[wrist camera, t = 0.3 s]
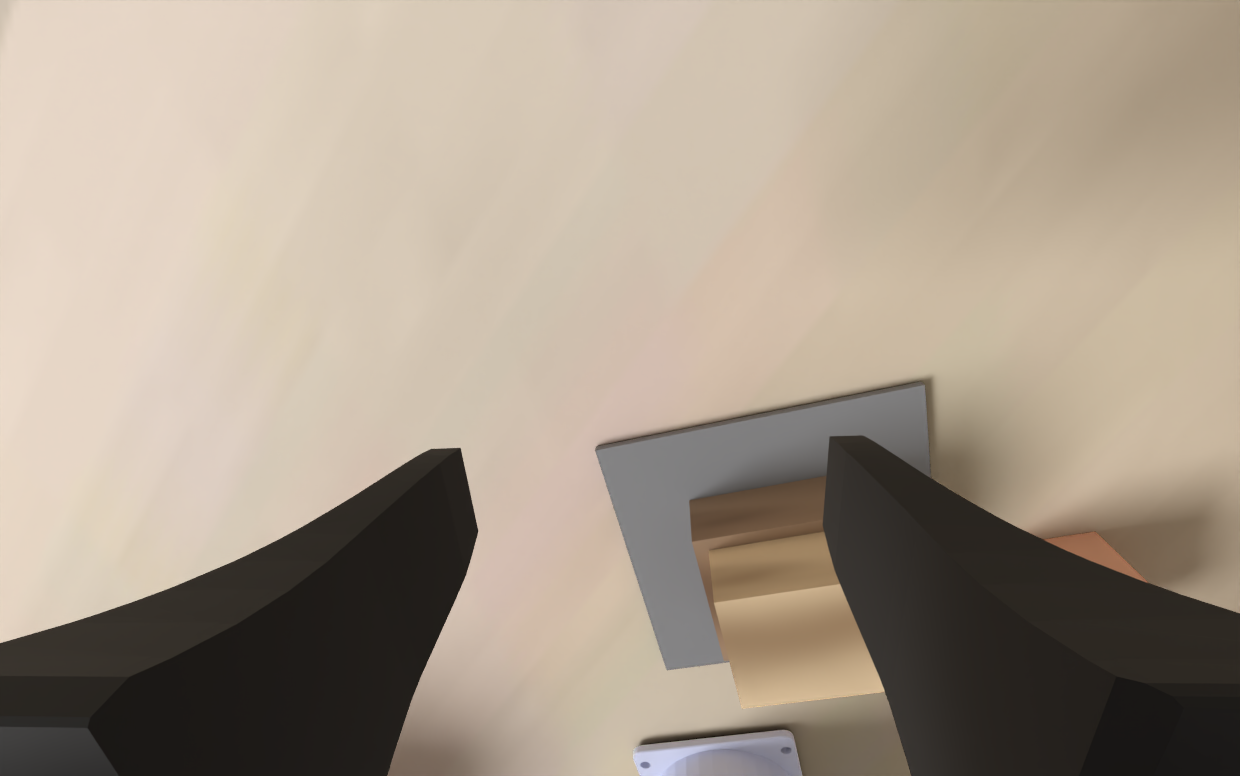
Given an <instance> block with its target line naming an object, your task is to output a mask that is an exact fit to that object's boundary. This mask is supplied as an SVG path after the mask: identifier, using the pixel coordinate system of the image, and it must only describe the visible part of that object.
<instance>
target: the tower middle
mask: <svg viewBox="0 0 1240 776" xmlns="http://www.w3.org/2000/svg"><path fill="white" fill-rule="evenodd" d="M709 560H710V570H711V579H712V589H713V599H714V605H715V609H716V613H717V616H718V620H719V624H720V628H721V632H722V635H723V639H724V643H725V647H726V650H727V654H728V658H729V662H730V666H731V669H732V673H733V677H734V681H735V684H736V688H737V692H738V696H739V700H740V703H741V707H742V709H744V708H753V707H761V706H770V705H778V704H787V703H795V702H804V701H812V700H821V699H830V698H838V697H847V696H855V695H864V694H872V693H881V692H885V691H884V688H883V685H882V683H881V680H880V677H879V675H878V673H877V670H876V668H875V666H874V663H873V661H872V658H871V656H870V654H869V651H868V649H867V647H866V644H865V642H864V640H863V637H862V635H861V633H860V630H859V628H858V626H857V623H856V621H855V619H854V616H853V614H852V611H851V609H850V607H849V604H848V602H847V600H846V597H845V595H844V592H843V590H842V588H841V585H840V583H839V580H838V578H837V575H836V573H835V570H834V567H833V563H832V559H831V556H830V552H829V549H828V545H827V541H826V537H825V533H824V532H819V533H813V534H807V535H800V536H794V537H788V538H782V539H776V540H770V541H764V542H758V543H752V544H745V545H739V546H733V547H727V548H721V549H715V550H709Z"/></svg>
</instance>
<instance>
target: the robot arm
mask: <svg viewBox="0 0 1240 776" xmlns="http://www.w3.org/2000/svg"><path fill="white" fill-rule="evenodd" d="M823 529H824V533H825V537H826V541H827V545H828V549H829V552H830V556H831V559H832V563H833V567H834V570H835V573H836V575H837V578H838V580H839V583H840V585H841V588H842V590H843V592H844V595H845V597H846V600H847V602H848V604H849V607H850V609H851V611H852V614H853V616H854V619H855V621H856V623H857V626H858V628H859V630H860V633H861V635H862V637H863V640H864V642H865V644H866V647H867V649H868V651H869V654H870V656H871V658H872V661H873V663H874V666H875V668H876V670H877V673H878V675H879V677H880V680H881V683H882V685H883V688H884V691H885V693H886V696H887V699H888V701H889V704H890V707H891V710H892V714H893V717H894V720H895V723H896V727H897V730H898V733H899V736H900V739H901V743H902V746H903V749H904V752H905V756H906V759H907V762H908V766H909V769H910V773H911V776H1240V614H1239V613H1236V612H1233V611H1230V610H1227V609H1224V608H1221V607H1218V606H1215V605H1212V604H1208V603H1205V602H1202V601H1199V600H1196V599H1193V598H1190V597H1187V596H1184V595H1181V594H1178V593H1175V592H1172V591H1169V590H1166V589H1164V588H1161V587H1158V586H1155V585H1152V584H1149V583H1147V582H1144V581H1141V580H1138V579H1136V578H1133V577H1131V576H1128V575H1126V574H1123V573H1121V572H1118V571H1115V570H1113V569H1110V568H1108V567H1105V566H1103V565H1100V564H1098V563H1095V562H1092V561H1090V560H1088V559H1085V558H1083V557H1080V556H1078V555H1076V554H1073V553H1071V552H1069V551H1066V550H1064V549H1062V548H1060V547H1058V546H1055V545H1053V544H1051V543H1049V542H1047V541H1045V540H1043V539H1041V538H1038V537H1036V536H1034V535H1032V534H1030V533H1028V532H1026V531H1024V530H1021V529H1019V528H1017V527H1015V526H1014V525H1012V524H1010V523H1008V522H1006V521H1004V520H1002V519H1000V518H998V517H996V516H994V515H993V514H991V513H989V512H987V511H985V510H984V509H982V508H980V507H978V506H977V505H975V504H973V503H971V502H969V501H968V500H966V499H964V498H962V497H961V496H959V495H957V494H956V493H954V492H952V491H951V490H949V489H947V488H946V487H944V486H943V485H941V484H939V483H938V482H936V481H934V480H933V479H931V478H930V477H928V476H927V475H925V474H923V473H922V472H920V471H919V470H917V469H916V468H914V467H913V466H911V465H910V464H908V463H907V462H905V461H903V460H902V459H900V458H899V457H897V456H896V455H894V454H893V453H891V452H890V451H888V450H887V449H885V448H884V447H882V446H880V445H879V444H877V443H876V442H874V441H872V440H871V439H869V438H867V437H865V436H863V435H858V436H830V437H829V449H828V462H827V475H826V487H825V500H824V513H823ZM477 534H478V528H477V523H476V519H475V514H474V509H473V504H472V500H471V495H470V490H469V486H468V481H467V476H466V472H465V467H464V462H463V458H462V453H461V448H447V449H430V450H428V451H426V452H424V453H422V454H420V455H419V456H417V457H415V458H414V459H412V460H410V461H409V462H407V463H405V464H404V465H402V466H401V467H399V468H397V469H396V470H394V471H393V472H391V473H390V474H388V475H386V476H385V477H383V478H382V479H380V480H379V481H377V482H376V483H374V484H372V485H371V486H369V487H368V488H366V489H365V490H363V491H361V492H360V493H358V494H357V495H355V496H354V497H352V498H350V499H349V500H347V501H345V502H344V503H342V504H340V505H339V506H337V507H335V508H334V509H332V510H330V511H329V512H327V513H325V514H323V515H322V516H320V517H318V518H317V519H315V520H313V521H312V522H310V523H308V524H307V525H305V526H303V527H301V528H300V529H298V530H296V531H294V532H292V533H290V534H288V535H287V536H285V537H283V538H281V539H279V540H277V541H275V542H273V543H271V544H269V545H267V546H265V547H263V548H261V549H259V550H257V551H255V552H253V553H251V554H249V555H247V556H245V557H242V558H240V559H238V560H236V561H234V562H231V563H229V564H227V565H224V566H222V567H220V568H217V569H215V570H213V571H210V572H208V573H205V574H203V575H201V576H198V577H196V578H194V579H191V580H189V581H187V582H184V583H182V584H179V585H177V586H175V587H172V588H170V589H167V590H164V591H162V592H159V593H156V594H154V595H151V596H148V597H145V598H143V599H140V600H137V601H135V602H132V603H129V604H126V605H123V606H120V607H117V608H114V609H111V610H108V611H105V612H103V613H100V614H97V615H94V616H91V617H87V618H84V619H81V620H78V621H75V622H72V623H69V624H65V625H62V626H58V627H55V628H51V629H48V630H44V631H41V632H38V633H34V634H31V635H27V636H24V637H20V638H17V639H14V640H10V641H7V642H3V643H0V776H387V774H388V771H389V768H390V764H391V761H392V758H393V755H394V751H395V748H396V745H397V742H398V739H399V736H400V733H401V730H402V727H403V724H404V721H405V718H406V715H407V712H408V709H409V706H410V703H411V700H412V697H413V695H414V692H415V690H416V687H417V685H418V682H419V680H420V677H421V675H422V673H423V670H424V668H425V666H426V664H427V662H428V659H429V657H430V655H431V653H432V650H433V648H434V646H435V644H436V642H437V639H438V637H439V635H440V633H441V630H442V628H443V626H444V624H445V622H446V619H447V617H448V615H449V613H450V611H451V608H452V606H453V604H454V601H455V599H456V597H457V595H458V592H459V590H460V588H461V585H462V583H463V581H464V578H465V576H466V573H467V570H468V566H469V563H470V560H471V556H472V553H473V549H474V545H475V542H476V538H477ZM633 759H634V762H635V764H636V767H637V769H638V772H639V775H640V776H802V771H801V767H800V762H799V758H798V753H797V749H796V744H795V740H794V736H793V734H792V733H791V732H790V731H787V730H775V731H766V732H757V733H748V734H739V735H730V736H720V737H711V738H702V739H693V740H684V741H675V742H666V743H657V744H648V745H640V746H637V747H636V748H635V749H634V750H633Z"/></svg>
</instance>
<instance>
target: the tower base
mask: <svg viewBox="0 0 1240 776" xmlns="http://www.w3.org/2000/svg"><path fill="white" fill-rule="evenodd" d="M825 487H826V476H823V477H817V478H811V479H806V480H800V481H795V482H789V483H784V484H778V485H772V486H767V487H761V488H756V489H750V490H744V491H739V492H733V493H728V494H722V495H717V496H711V497H705V498H700V499H694V500H689V506H690V522H691V537H692V544H693V548H694V552H695V556H696V559H697V563H698V567H699V570H700V574H701V578H702V582H703V585H704V589H705V593H706V596H707V600H708V604H709V607H710V611H711V615H712V619H713V622H714V626H715V630H716V633H717V637H718V641H719V645H720V648H721V652H722V656H723V659H724V661H729V658H728V654H727V650H726V647H725V643H724V639H723V635H722V632H721V628H720V624H719V620H718V616H717V613H716V609H715V605H714V599H713V589H712V579H711V570H710V560H709V550H715V549H721V548H727V547H733V546H739V545H745V544H752V543H758V542H764V541H770V540H776V539H782V538H788V537H794V536H800V535H807V534H813V533H819V532H824V529H823V513H824V500H825Z"/></svg>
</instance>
